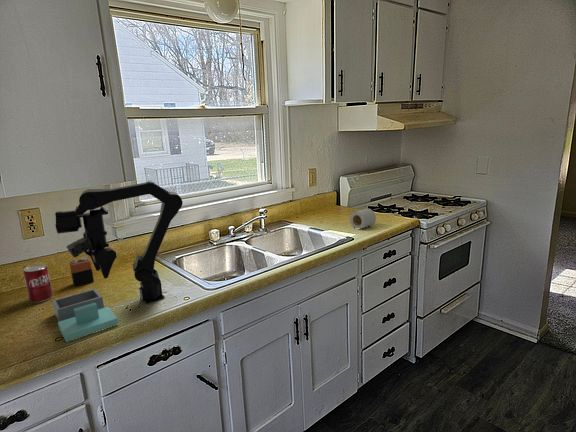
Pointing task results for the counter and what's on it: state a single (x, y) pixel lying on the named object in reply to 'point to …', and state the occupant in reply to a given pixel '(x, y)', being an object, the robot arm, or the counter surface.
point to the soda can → (38, 283)
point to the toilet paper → (362, 218)
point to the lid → (87, 321)
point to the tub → (75, 303)
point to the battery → (81, 271)
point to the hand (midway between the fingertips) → (102, 274)
